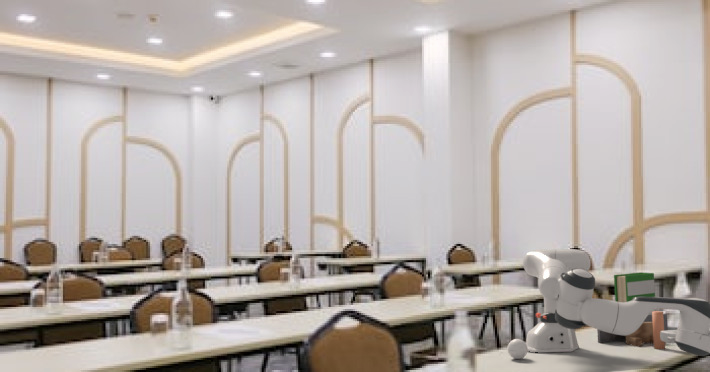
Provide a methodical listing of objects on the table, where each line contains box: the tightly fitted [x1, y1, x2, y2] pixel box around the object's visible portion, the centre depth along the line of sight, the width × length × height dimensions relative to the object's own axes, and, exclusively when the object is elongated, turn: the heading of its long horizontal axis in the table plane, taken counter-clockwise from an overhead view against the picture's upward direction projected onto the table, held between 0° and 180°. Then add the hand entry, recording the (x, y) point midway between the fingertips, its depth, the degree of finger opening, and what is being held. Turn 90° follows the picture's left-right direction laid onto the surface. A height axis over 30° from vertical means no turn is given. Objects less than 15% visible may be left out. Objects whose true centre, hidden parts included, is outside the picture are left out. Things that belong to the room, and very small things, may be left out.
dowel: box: [652, 310, 666, 350], centre depth 280 cm, size 4×4×14 cm
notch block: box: [625, 322, 654, 347], centre depth 290 cm, size 12×7×8 cm, turn 99°
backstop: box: [596, 313, 669, 344], centre depth 298 cm, size 30×2×10 cm, turn 99°
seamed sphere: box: [502, 338, 529, 360], centre depth 270 cm, size 10×7×7 cm
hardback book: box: [613, 271, 656, 302], centre depth 333 cm, size 18×7×24 cm, turn 118°
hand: (676, 331), depth 268 cm, fingers open, 8 cm apart
